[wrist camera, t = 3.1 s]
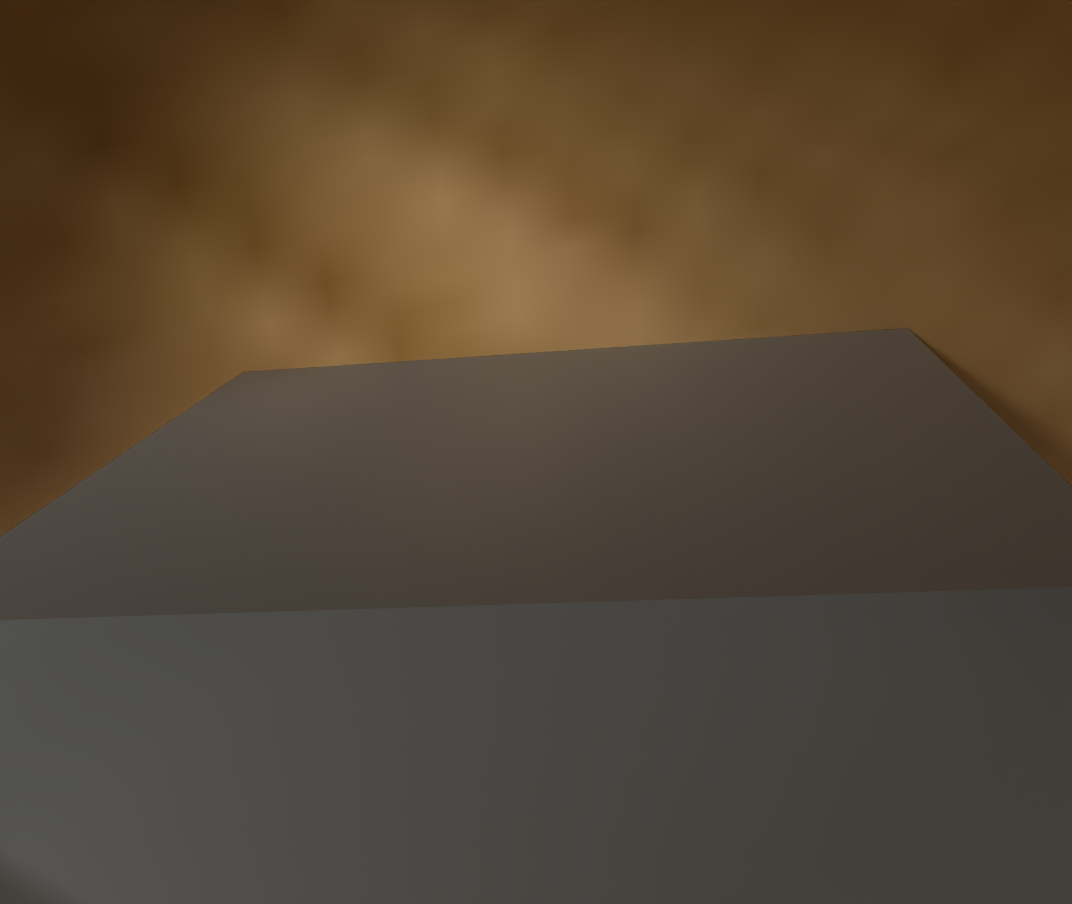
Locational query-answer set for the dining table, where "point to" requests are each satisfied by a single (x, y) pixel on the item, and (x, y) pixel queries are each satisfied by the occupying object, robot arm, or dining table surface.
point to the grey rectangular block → (550, 640)
